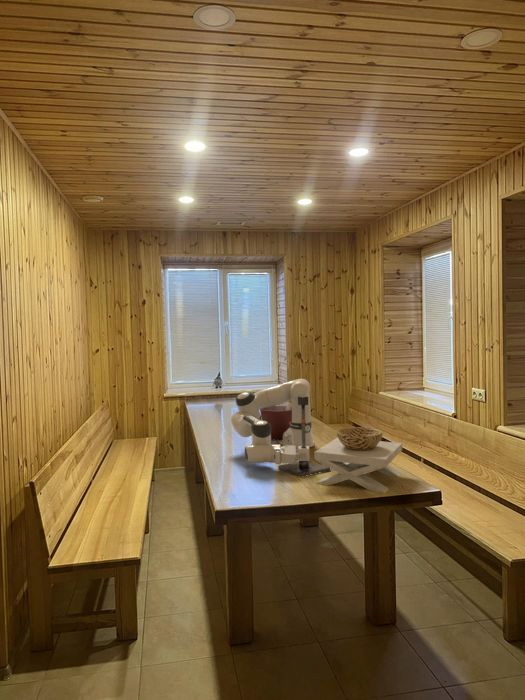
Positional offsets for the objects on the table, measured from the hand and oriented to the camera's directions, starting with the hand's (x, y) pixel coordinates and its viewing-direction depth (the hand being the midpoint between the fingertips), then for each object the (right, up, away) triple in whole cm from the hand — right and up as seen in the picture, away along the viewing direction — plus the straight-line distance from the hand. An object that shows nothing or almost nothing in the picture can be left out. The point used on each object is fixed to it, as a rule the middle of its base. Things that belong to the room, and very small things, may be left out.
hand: (305, 453), depth 251 cm
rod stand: (-1, -8, 0) cm, 8 cm away
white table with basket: (+24, -9, -14) cm, 29 cm away
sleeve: (-1, -3, 0) cm, 3 cm away
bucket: (-11, -5, +73) cm, 74 cm away
